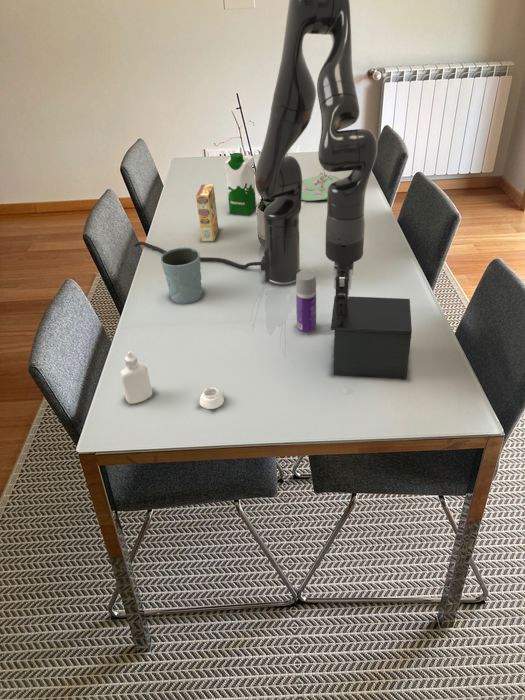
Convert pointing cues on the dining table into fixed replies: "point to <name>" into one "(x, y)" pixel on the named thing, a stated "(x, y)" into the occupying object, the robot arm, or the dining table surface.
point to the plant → (317, 187)
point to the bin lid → (374, 315)
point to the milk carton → (240, 184)
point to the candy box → (207, 212)
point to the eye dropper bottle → (135, 380)
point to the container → (306, 302)
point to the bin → (371, 354)
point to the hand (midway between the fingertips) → (342, 304)
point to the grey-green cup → (183, 274)
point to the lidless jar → (211, 398)
